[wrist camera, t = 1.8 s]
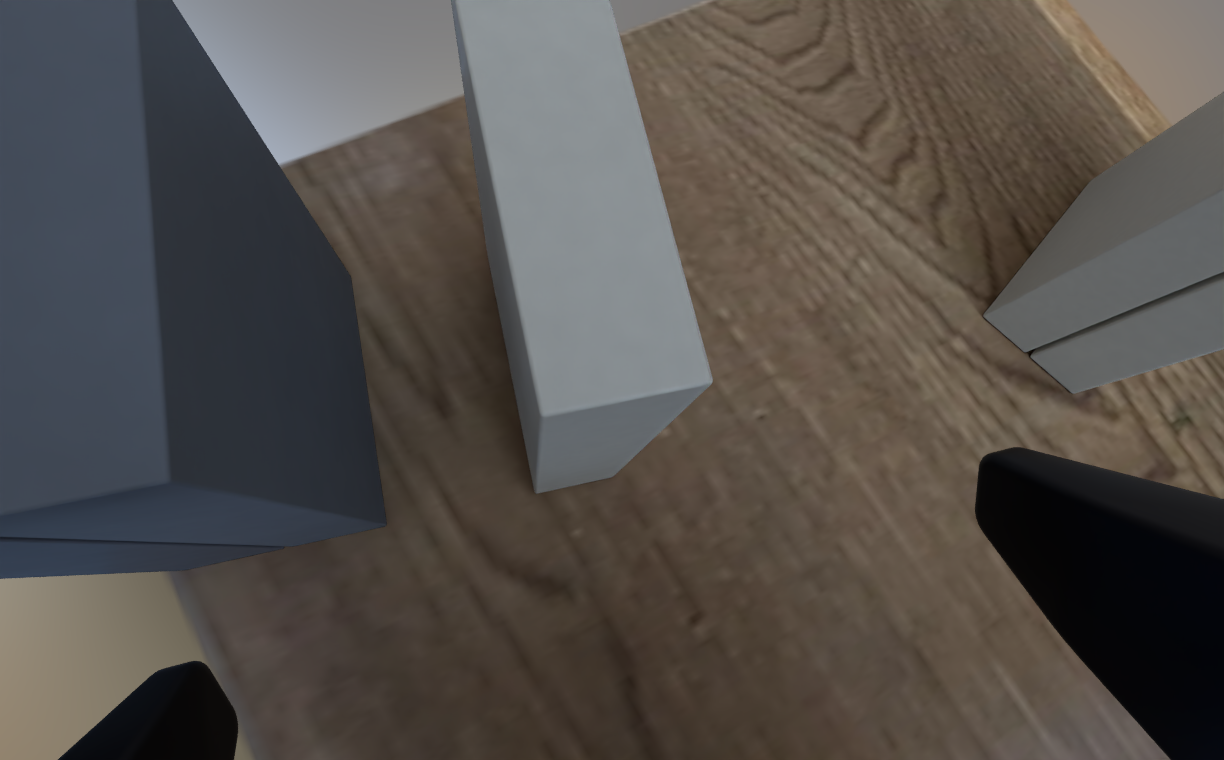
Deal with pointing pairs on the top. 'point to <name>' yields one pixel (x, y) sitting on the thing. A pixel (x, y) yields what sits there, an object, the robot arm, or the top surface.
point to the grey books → (161, 312)
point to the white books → (1129, 265)
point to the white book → (575, 236)
